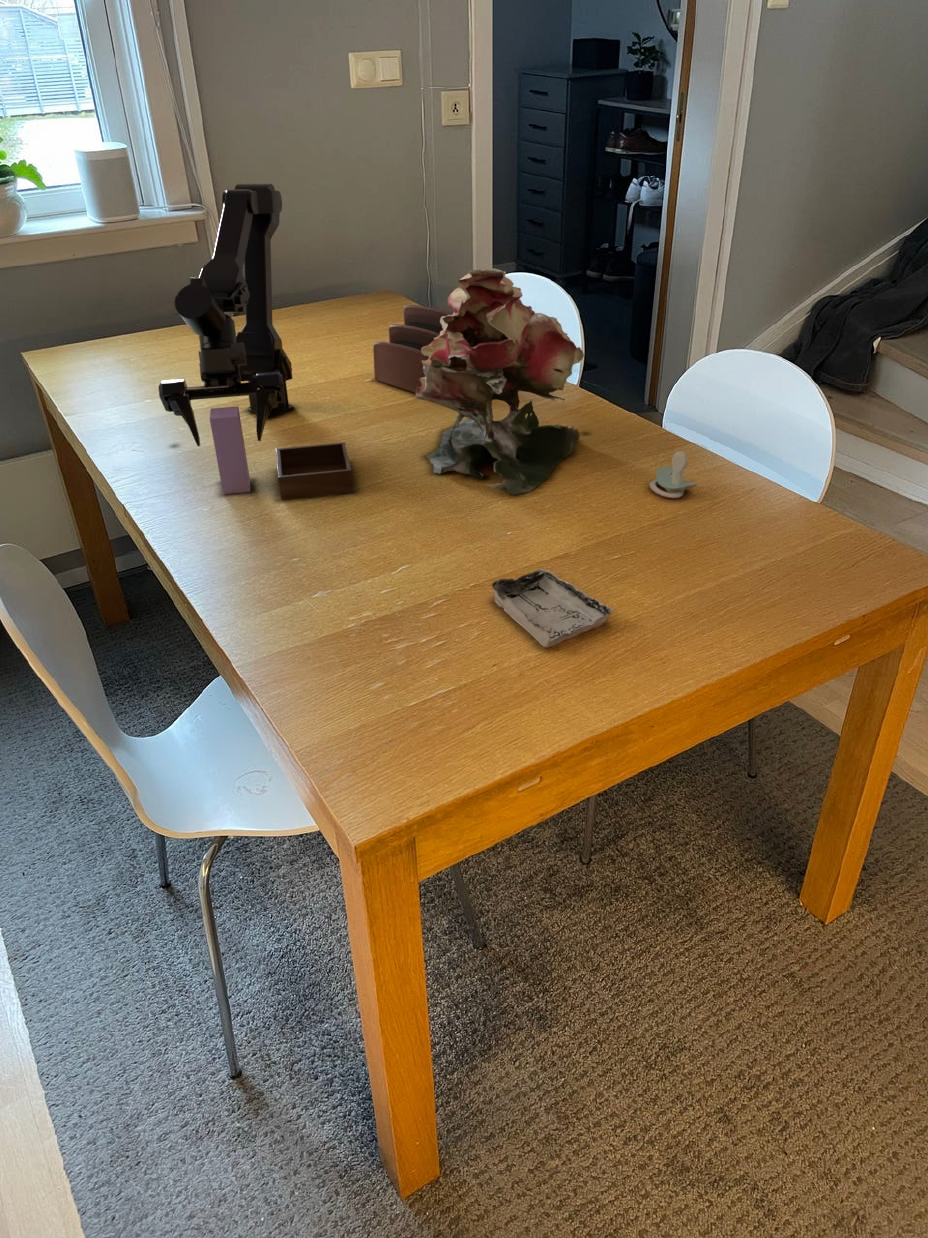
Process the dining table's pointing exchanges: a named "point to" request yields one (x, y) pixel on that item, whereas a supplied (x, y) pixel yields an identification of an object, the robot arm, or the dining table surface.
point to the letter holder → (407, 347)
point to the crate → (314, 471)
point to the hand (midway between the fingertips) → (228, 442)
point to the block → (230, 449)
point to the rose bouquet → (498, 382)
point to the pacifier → (676, 481)
